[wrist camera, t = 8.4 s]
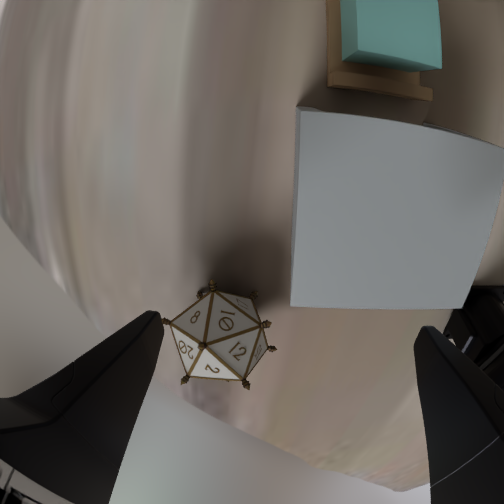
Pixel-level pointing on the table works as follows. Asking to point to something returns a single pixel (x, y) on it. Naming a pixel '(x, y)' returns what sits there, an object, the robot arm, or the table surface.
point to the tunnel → (388, 212)
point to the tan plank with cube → (366, 68)
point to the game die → (220, 336)
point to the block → (392, 34)
